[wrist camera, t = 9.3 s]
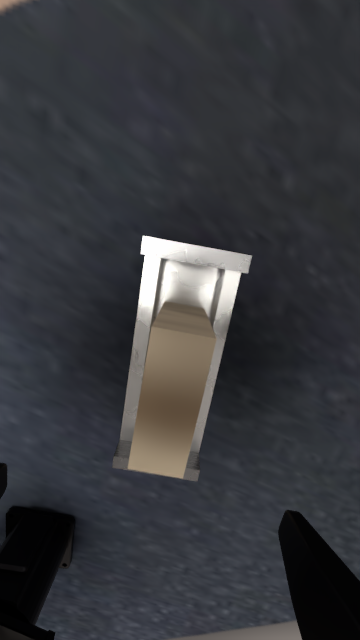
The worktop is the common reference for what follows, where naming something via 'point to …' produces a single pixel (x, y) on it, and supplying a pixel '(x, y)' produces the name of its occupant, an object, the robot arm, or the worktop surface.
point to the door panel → (172, 389)
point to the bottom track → (187, 289)
